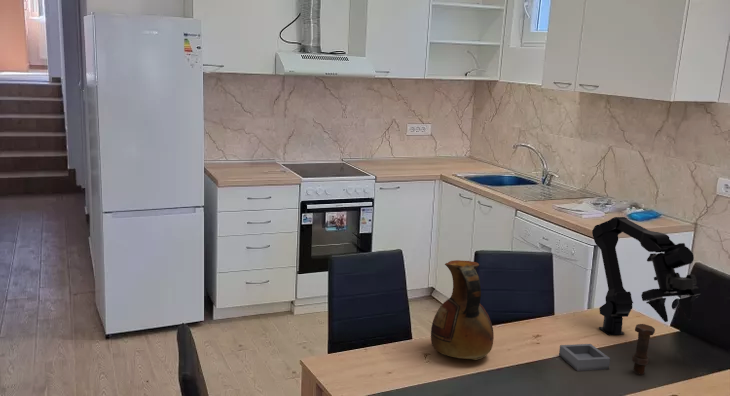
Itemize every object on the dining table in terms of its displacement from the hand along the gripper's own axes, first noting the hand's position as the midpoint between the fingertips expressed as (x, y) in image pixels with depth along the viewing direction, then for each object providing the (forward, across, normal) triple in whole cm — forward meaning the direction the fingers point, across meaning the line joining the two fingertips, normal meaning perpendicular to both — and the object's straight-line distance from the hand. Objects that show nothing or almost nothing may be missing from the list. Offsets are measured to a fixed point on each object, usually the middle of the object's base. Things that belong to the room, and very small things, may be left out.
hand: (678, 320), depth 204 cm
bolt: (+14, -14, +7) cm, 21 cm away
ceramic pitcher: (+2, -63, +27) cm, 69 cm away
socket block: (+9, -27, +15) cm, 32 cm away
